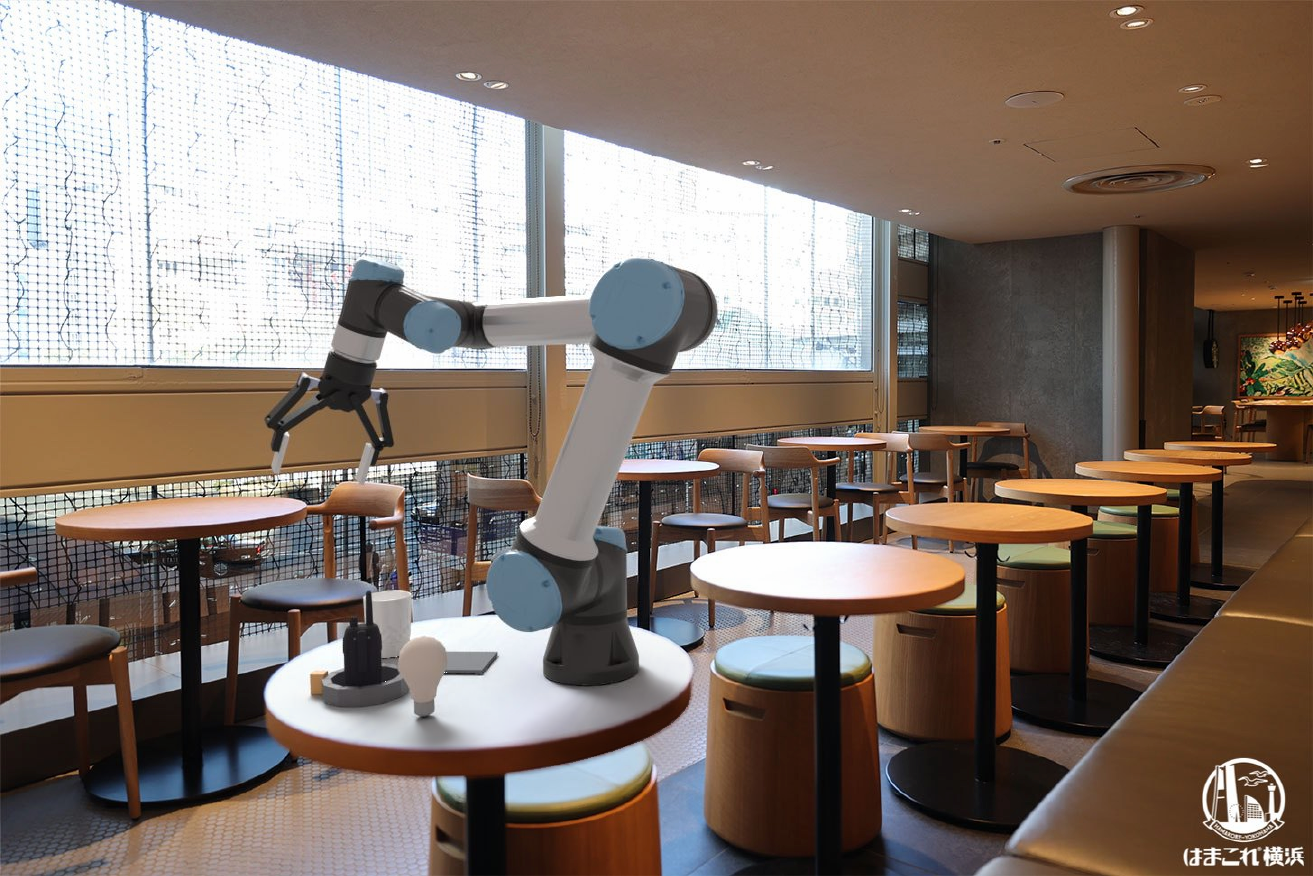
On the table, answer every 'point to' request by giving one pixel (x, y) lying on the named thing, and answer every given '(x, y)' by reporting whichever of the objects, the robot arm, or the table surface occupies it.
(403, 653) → the light bulb
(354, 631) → the two-way radio
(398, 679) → the dock collar
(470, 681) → the table surface
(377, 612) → the white cup
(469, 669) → the mat
